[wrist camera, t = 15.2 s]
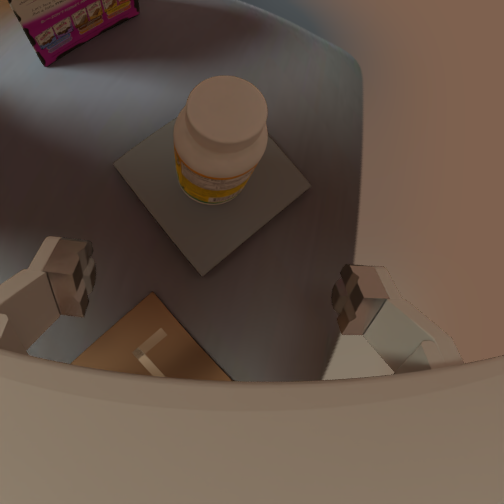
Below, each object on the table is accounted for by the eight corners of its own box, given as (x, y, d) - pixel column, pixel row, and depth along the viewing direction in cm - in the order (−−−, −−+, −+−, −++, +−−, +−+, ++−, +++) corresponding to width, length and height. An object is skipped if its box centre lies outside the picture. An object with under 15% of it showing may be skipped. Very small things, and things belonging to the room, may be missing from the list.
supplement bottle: (226, 219, 24) (250, 178, 14) (162, 185, 23) (148, 126, 14) (259, 159, 25) (298, 95, 15) (198, 128, 24) (207, 51, 15)
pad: (114, 166, 23) (112, 163, 22) (223, 92, 25) (224, 88, 25) (201, 276, 24) (202, 276, 23) (308, 188, 26) (311, 185, 25)
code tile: (63, 370, 21) (62, 370, 21) (152, 291, 23) (152, 291, 23) (149, 459, 21) (149, 460, 21) (241, 389, 23) (241, 390, 23)
